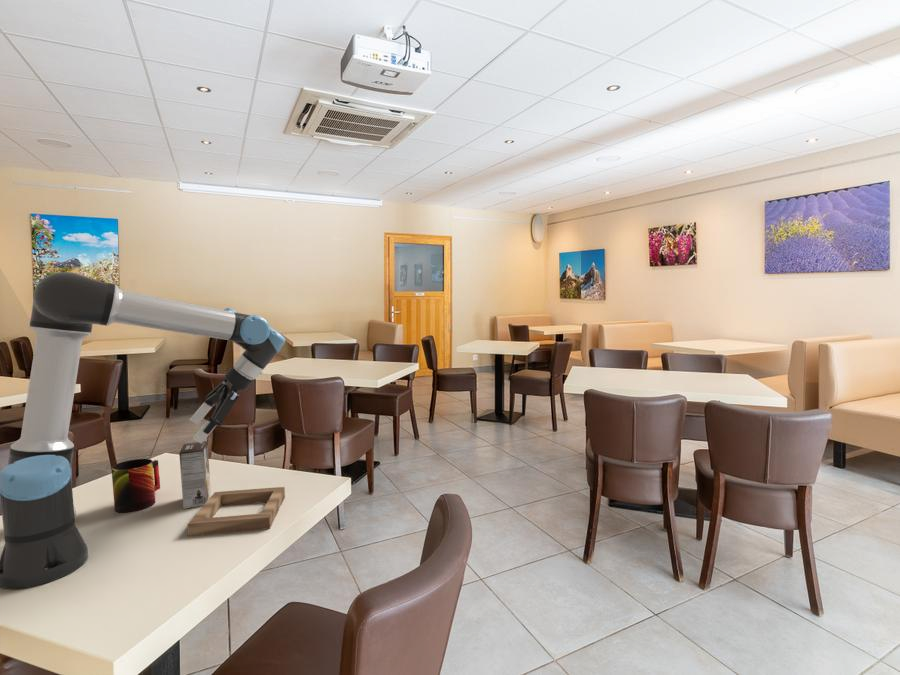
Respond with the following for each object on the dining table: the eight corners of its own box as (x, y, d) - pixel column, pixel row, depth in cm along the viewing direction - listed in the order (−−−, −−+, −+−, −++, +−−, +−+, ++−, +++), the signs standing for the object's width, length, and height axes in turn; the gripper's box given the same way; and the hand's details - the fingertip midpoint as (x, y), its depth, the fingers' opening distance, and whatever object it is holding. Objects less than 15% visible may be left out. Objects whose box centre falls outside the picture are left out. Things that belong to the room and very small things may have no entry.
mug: (160, 491, 148) (158, 452, 147) (152, 509, 135) (148, 467, 134) (123, 497, 144) (120, 457, 143) (110, 516, 131) (106, 472, 130)
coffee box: (187, 497, 143) (183, 443, 142) (211, 493, 145) (207, 440, 144) (182, 509, 134) (178, 452, 133) (208, 505, 137) (204, 449, 135)
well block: (269, 528, 122) (269, 517, 121) (188, 535, 119) (187, 523, 119) (285, 496, 141) (284, 486, 141) (215, 502, 139) (215, 492, 138)
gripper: (261, 393, 137) (210, 455, 134) (247, 367, 157) (202, 420, 155) (239, 379, 133) (186, 443, 130) (227, 354, 153) (181, 409, 150)
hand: (195, 431), depth 142 cm, fingers open, 13 cm apart
